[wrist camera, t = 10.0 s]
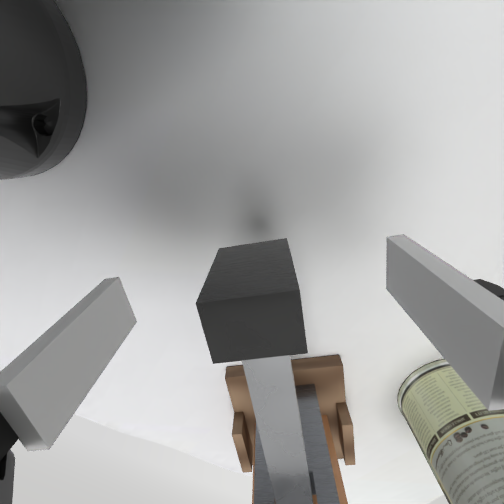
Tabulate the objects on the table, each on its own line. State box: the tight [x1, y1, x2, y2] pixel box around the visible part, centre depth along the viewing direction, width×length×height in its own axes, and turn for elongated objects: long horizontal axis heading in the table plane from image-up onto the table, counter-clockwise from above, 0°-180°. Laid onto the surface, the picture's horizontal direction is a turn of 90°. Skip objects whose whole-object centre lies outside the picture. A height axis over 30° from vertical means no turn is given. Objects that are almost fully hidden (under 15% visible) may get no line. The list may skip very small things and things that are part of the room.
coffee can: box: [398, 359, 504, 504], centre depth 23 cm, size 10×10×14 cm
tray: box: [225, 355, 355, 472], centre depth 30 cm, size 14×12×4 cm
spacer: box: [252, 415, 348, 504], centre depth 27 cm, size 2×8×8 cm, turn 102°
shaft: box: [196, 238, 313, 504], centre depth 17 cm, size 20×4×6 cm, turn 10°
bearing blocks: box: [254, 384, 340, 504], centre depth 24 cm, size 12×6×14 cm, turn 10°
